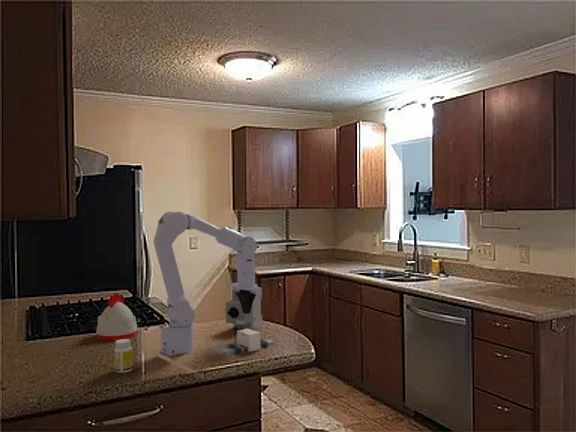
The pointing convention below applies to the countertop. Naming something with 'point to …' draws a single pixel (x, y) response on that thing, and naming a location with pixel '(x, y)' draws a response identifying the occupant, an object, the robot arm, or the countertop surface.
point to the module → (248, 339)
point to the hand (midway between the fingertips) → (246, 313)
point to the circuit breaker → (237, 315)
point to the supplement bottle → (123, 356)
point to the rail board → (239, 347)
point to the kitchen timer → (116, 321)
